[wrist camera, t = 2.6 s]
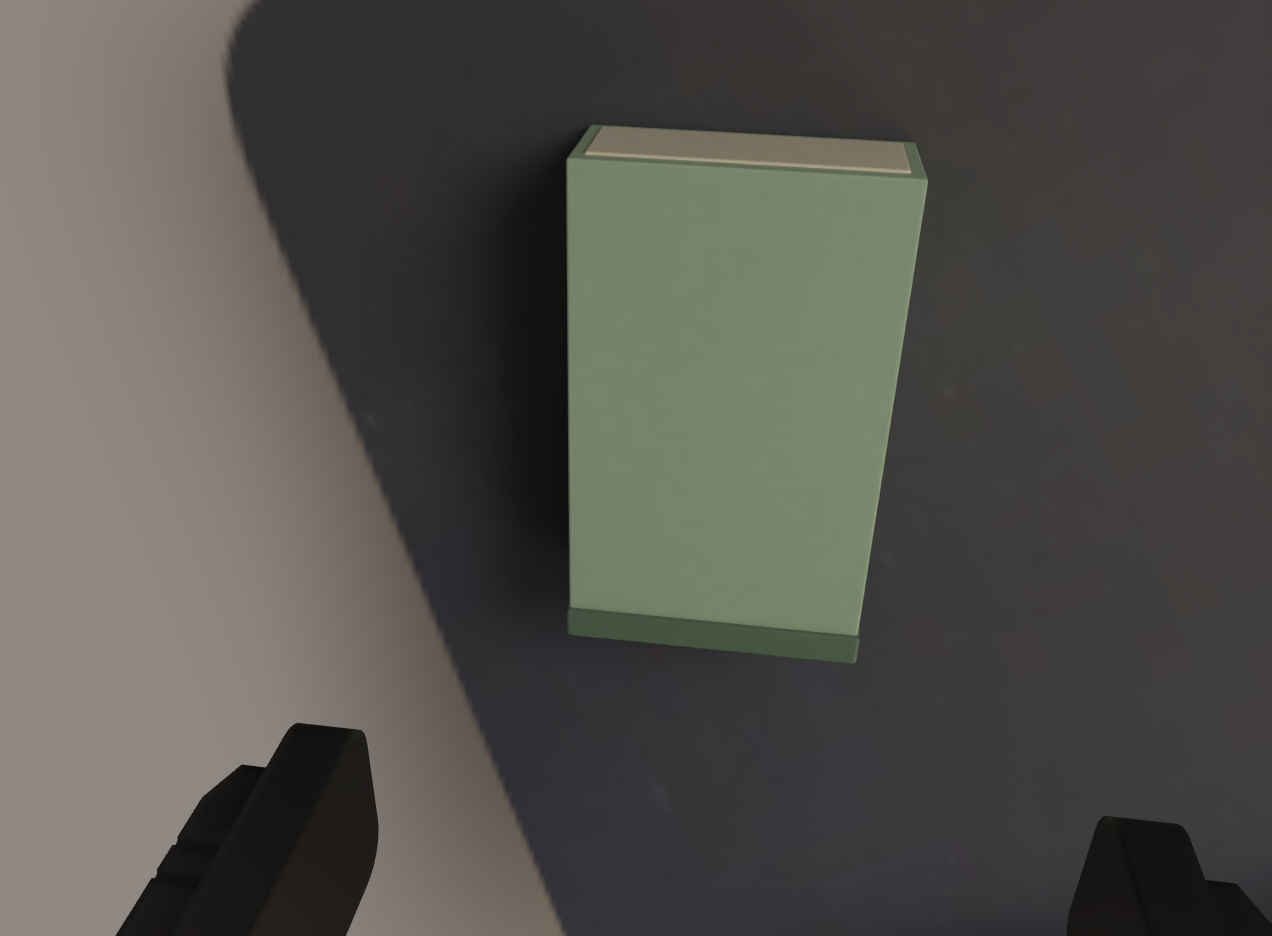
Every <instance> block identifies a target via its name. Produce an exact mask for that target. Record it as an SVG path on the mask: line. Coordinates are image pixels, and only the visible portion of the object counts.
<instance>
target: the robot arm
mask: <svg viewBox="0 0 1272 936" xmlns="http://www.w3.org/2000/svg"><path fill="white" fill-rule="evenodd" d="M377 845H378V818H377V810H376V803H375V797H374V789H373V782H372V775H371V768H370V761H369V753H368V746H367V741H366V737H365V734H364V733H363V731H361V730H356V729H348V728H338V727H330V726H321V725H312V724H302V723H296V724H294V725H293V726H291V728H290V729H289V730H288V731H287V733H286V734H285V736H284V737H283V739H282V741H281V743H280V744H279V746H278V748H277V749H276V751H275V753H274V755H273V757H272V758H271V760H270V762H269V763H268V765H267V767H257V766H249V765H241V766H239V767H238V768H237V769H236V770H235V771H234V772H232V773H231V774H230V775H229V776H227V777H226V778H225V779H224V780H223V781H221V782H220V783H219V784H218V785H216V786H215V787H214V788H213V789H212V790H210V791H209V792H208V793H207V794H206V795H204V796H203V797H202V799H201V800H200V802H199V803H198V805H197V807H196V808H195V810H194V811H193V813H192V815H191V816H190V818H189V819H188V821H187V823H186V824H185V826H184V827H183V829H182V830H181V832H180V834H179V835H178V840H177V843H176V845H172V847H171V848H170V850H169V851H168V853H167V854H166V856H165V858H164V859H163V861H162V862H161V864H160V866H159V867H158V869H157V875H156V877H155V878H152V879H151V880H150V882H149V883H148V885H147V886H146V888H145V890H144V891H143V893H142V894H141V896H140V898H139V899H138V901H137V902H136V904H135V906H134V907H133V909H132V911H131V912H130V914H129V915H128V917H127V918H126V920H125V922H124V923H123V925H122V926H121V928H120V930H119V931H118V933H117V934H116V936H346V934H347V932H348V930H349V927H350V925H351V922H352V920H353V918H354V915H355V913H356V910H357V908H358V906H359V903H360V901H361V899H362V896H363V894H364V891H365V889H366V887H367V884H368V881H369V879H370V876H371V873H372V869H373V866H374V862H375V857H376V851H377ZM1067 936H1272V925H1271V923H1270V922H1269V921H1268V920H1267V919H1266V918H1265V916H1264V915H1263V914H1262V913H1261V912H1260V911H1259V909H1258V908H1257V907H1256V906H1255V905H1254V904H1253V902H1252V901H1251V900H1250V899H1249V898H1248V897H1247V896H1246V894H1245V893H1244V892H1243V891H1242V890H1241V889H1240V887H1239V886H1238V885H1237V884H1234V883H1226V882H1217V881H1209V880H1205V878H1204V875H1203V873H1202V870H1201V867H1200V865H1199V862H1198V859H1197V857H1196V854H1195V851H1194V849H1193V846H1192V843H1191V841H1190V838H1189V836H1188V834H1187V832H1186V831H1185V829H1184V828H1183V827H1182V826H1181V825H1179V824H1173V823H1164V822H1155V821H1146V820H1137V819H1128V818H1120V817H1111V816H1104V817H1102V818H1101V819H1100V820H1099V822H1098V824H1097V827H1096V829H1095V832H1094V836H1093V839H1092V842H1091V845H1090V848H1089V851H1088V854H1087V858H1086V861H1085V864H1084V867H1083V870H1082V873H1081V877H1080V880H1079V883H1078V886H1077V889H1076V892H1075V895H1074V899H1073V902H1072V905H1071V908H1070V912H1069V918H1068V926H1067Z"/></svg>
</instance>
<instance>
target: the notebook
mask: <svg viewBox="0 0 1272 936" xmlns="http://www.w3.org/2000/svg"><path fill="white" fill-rule="evenodd" d="M927 185H928V180H927V177H926V174H925V171H924V168H923V165H922V162H921V159H920V156H919V153H918V150H917V147H916V144H915V143H913V142H895V141H877V140H859V139H841V138H823V137H805V136H787V135H769V134H751V133H733V132H715V131H697V130H679V129H661V128H643V127H625V126H607V125H590V127H589V128H588V130H587V131H586V132H585V134H584V135H583V137H582V138H581V139H580V141H579V142H578V144H577V145H576V146H575V148H574V149H573V150H572V152H571V153H570V155H569V156H568V157H567V159H566V229H567V356H568V484H569V604H568V608H567V633H568V634H569V635H575V636H585V637H595V638H604V639H614V640H624V641H634V642H643V643H653V644H663V645H673V646H682V647H692V648H702V649H711V650H721V651H731V652H741V653H750V654H760V655H770V656H780V657H789V658H799V659H809V660H819V661H828V662H838V663H848V664H854V663H855V662H856V660H857V655H858V648H859V642H860V636H859V623H860V616H861V610H862V603H863V597H864V591H865V584H866V578H867V571H868V565H869V558H870V552H871V546H872V539H873V533H874V526H875V520H876V513H877V507H878V501H879V494H880V488H881V481H882V475H883V468H884V462H885V455H886V449H887V443H888V436H889V430H890V423H891V417H892V410H893V404H894V398H895V391H896V385H897V378H898V372H899V365H900V359H901V352H902V346H903V340H904V333H905V327H906V320H907V314H908V307H909V301H910V295H911V288H912V282H913V275H914V269H915V262H916V256H917V249H918V243H919V237H920V230H921V224H922V217H923V211H924V204H925V198H926V192H927Z"/></svg>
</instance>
